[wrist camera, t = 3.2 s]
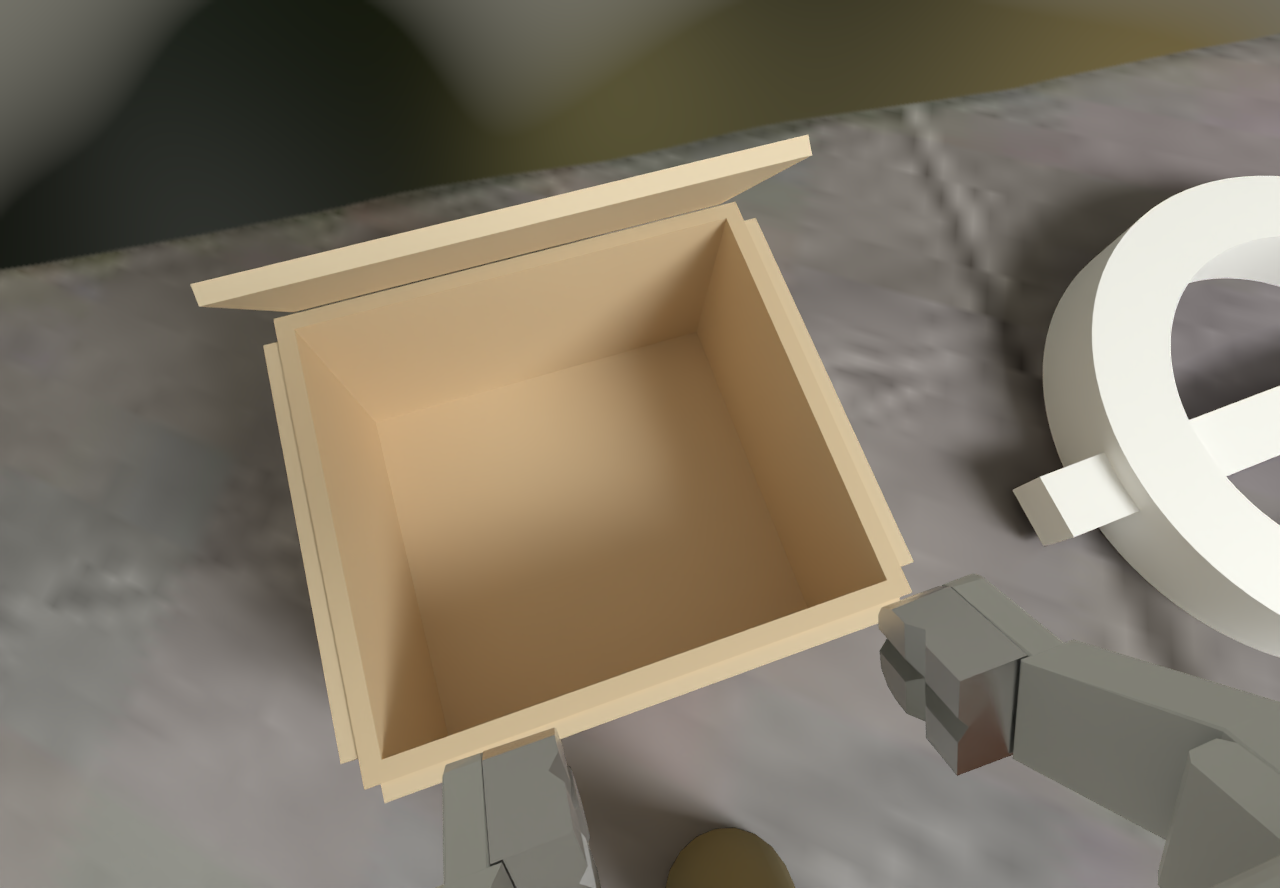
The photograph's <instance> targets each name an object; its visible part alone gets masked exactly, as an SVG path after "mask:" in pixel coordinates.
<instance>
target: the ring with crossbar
mask: <svg viewBox="0 0 1280 888" xmlns="http://www.w3.org/2000/svg"><path fill="white" fill-rule="evenodd" d="M1217 278H1235V279H1246V280H1253V281H1259V282H1264V283H1268V284H1272V285H1276V286H1279V287H1280V176H1247V177H1237V178H1229V179H1223V180H1218V181H1213V182H1209V183H1206V184H1202V185H1199V186H1196V187H1193V188H1190V189H1187V190H1185V191H1183V192H1180V193H1178V194H1176V195H1174V196H1172V197H1170V198H1168V199H1167V200H1165V201H1163V202H1161V203H1160V204H1158V205H1157V206H1155V207H1154V208H1152V209H1151V210H1150V211H1148V212H1147V213H1146V214H1145V215H1144V216H1142V217H1141V218H1140V219H1139V220H1138V221H1136V222H1135V223H1134V224H1133V225H1132V226H1131V227H1130V228H1128V229H1127V230H1126V231H1125V232H1124V233H1123V234H1121V235H1120V236H1119V237H1118V238H1117V239H1116V240H1115V241H1113V242H1112V243H1111V244H1110V245H1109V246H1108V247H1106V248H1105V249H1104V250H1103V251H1102V252H1101V253H1099V254H1098V255H1097V256H1096V257H1095V258H1094V259H1093V260H1091V261H1090V262H1089V263H1088V264H1087V265H1086V266H1085V267H1084V268H1083V269H1082V270H1081V271H1080V272H1079V273H1078V275H1077V276H1076V277H1075V278H1074V279H1073V281H1072V282H1071V283H1070V285H1069V286H1068V288H1067V289H1066V291H1065V292H1064V294H1063V296H1062V298H1061V299H1060V301H1059V303H1058V305H1057V308H1056V310H1055V312H1054V314H1053V317H1052V320H1051V323H1050V326H1049V330H1048V334H1047V337H1046V343H1045V349H1044V358H1043V392H1044V401H1045V408H1046V413H1047V418H1048V423H1049V427H1050V430H1051V434H1052V437H1053V441H1054V444H1055V447H1056V449H1057V452H1058V455H1059V458H1060V460H1061V463H1062V465H1063V467H1064V468H1062V469H1059V470H1056V471H1054V472H1051V473H1049V474H1046V475H1043V476H1041V477H1038V478H1036V479H1034V480H1032V481H1030V482H1028V483H1026V484H1024V485H1021V486H1019V487H1017V488H1015V489H1013V492H1014V494H1015V496H1016V498H1017V499H1018V501H1019V503H1020V505H1021V507H1022V508H1023V510H1024V512H1025V514H1026V516H1027V517H1028V519H1029V521H1030V523H1031V525H1032V526H1033V528H1034V530H1035V532H1036V534H1037V535H1038V537H1039V539H1040V541H1041V543H1042V544H1043V546H1047V545H1050V544H1054V543H1057V542H1060V541H1063V540H1066V539H1070V538H1073V537H1076V536H1078V535H1081V534H1083V533H1086V532H1088V531H1091V530H1093V529H1096V528H1098V527H1099V529H1100V530H1101V531H1102V533H1103V534H1104V535H1105V537H1106V538H1107V539H1108V540H1109V542H1110V543H1111V544H1112V545H1113V546H1114V547H1115V549H1116V550H1117V551H1118V552H1119V553H1120V554H1121V555H1122V557H1123V558H1124V559H1125V560H1126V561H1127V562H1128V563H1129V564H1130V565H1131V566H1132V567H1133V568H1134V569H1135V570H1136V571H1137V572H1138V573H1139V574H1140V575H1141V576H1142V577H1143V578H1144V579H1145V580H1146V581H1148V582H1149V583H1150V584H1151V585H1152V586H1153V587H1155V588H1156V589H1157V590H1158V591H1159V592H1160V593H1162V594H1163V595H1164V596H1165V597H1167V598H1168V599H1169V600H1171V601H1172V602H1173V603H1175V604H1176V605H1177V606H1179V607H1180V608H1181V609H1183V610H1184V611H1186V612H1187V613H1189V614H1190V615H1192V616H1193V617H1195V618H1196V619H1198V620H1200V621H1201V622H1203V623H1204V624H1206V625H1208V626H1209V627H1211V628H1213V629H1215V630H1217V631H1218V632H1220V633H1222V634H1224V635H1226V636H1228V637H1230V638H1232V639H1234V640H1236V641H1238V642H1241V643H1243V644H1245V645H1247V646H1250V647H1252V648H1255V649H1257V650H1260V651H1262V652H1265V653H1268V654H1271V655H1274V656H1277V657H1280V525H1278V524H1277V523H1275V522H1274V521H1273V520H1271V519H1270V518H1269V517H1268V516H1266V515H1265V514H1264V513H1263V512H1261V511H1260V510H1259V509H1258V508H1257V507H1256V506H1254V505H1253V504H1252V503H1251V502H1250V501H1249V500H1248V499H1247V498H1246V497H1245V496H1244V495H1243V494H1242V493H1241V492H1240V491H1239V490H1238V489H1237V488H1236V487H1235V486H1234V485H1233V484H1232V483H1231V482H1230V481H1229V480H1228V478H1227V477H1226V476H1228V475H1231V474H1233V473H1236V472H1238V471H1241V470H1243V469H1246V468H1248V467H1251V466H1253V465H1256V464H1258V463H1261V462H1263V461H1266V460H1268V459H1271V458H1273V457H1276V456H1278V455H1280V386H1278V387H1275V388H1272V389H1270V390H1267V391H1264V392H1262V393H1259V394H1256V395H1254V396H1251V397H1249V398H1246V399H1243V400H1241V401H1238V402H1235V403H1233V404H1230V405H1228V406H1225V407H1222V408H1220V409H1217V410H1214V411H1212V412H1209V413H1206V414H1204V415H1201V416H1199V417H1196V418H1193V419H1191V420H1189V419H1188V417H1187V415H1186V413H1185V410H1184V408H1183V405H1182V403H1181V400H1180V397H1179V394H1178V391H1177V387H1176V384H1175V379H1174V374H1173V369H1172V362H1171V330H1172V323H1173V318H1174V314H1175V311H1176V307H1177V305H1178V302H1179V300H1180V297H1181V295H1182V293H1183V291H1184V289H1185V288H1186V286H1187V285H1188V283H1191V282H1195V281H1200V280H1206V279H1217Z"/></svg>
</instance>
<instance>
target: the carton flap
mask: <svg viewBox="0 0 1280 888" xmlns="http://www.w3.org/2000/svg"><path fill="white" fill-rule="evenodd" d="M811 155H812V152H811V147H810V141H809V136H808V135H804V136H800V137H796V138H792V139H788V140H784V141H780V142H776V143H771V144H767V145H763V146H759V147H755V148H751V149H747V150H743V151H738V152H734V153H730V154H726V155H722V156H718V157H714V158H710V159H705V160H701V161H697V162H693V163H689V164H685V165H681V166H677V167H672V168H668V169H664V170H660V171H656V172H652V173H648V174H643V175H639V176H635V177H631V178H627V179H623V180H619V181H615V182H610V183H606V184H602V185H598V186H594V187H590V188H586V189H582V190H577V191H573V192H569V193H565V194H561V195H557V196H553V197H549V198H544V199H540V200H536V201H532V202H528V203H524V204H520V205H516V206H511V207H507V208H503V209H499V210H495V211H491V212H487V213H482V214H478V215H474V216H470V217H466V218H462V219H458V220H454V221H449V222H445V223H441V224H437V225H433V226H429V227H425V228H421V229H416V230H412V231H408V232H404V233H400V234H396V235H392V236H388V237H383V238H379V239H375V240H371V241H367V242H363V243H359V244H355V245H350V246H346V247H342V248H338V249H334V250H330V251H326V252H322V253H317V254H313V255H309V256H305V257H301V258H297V259H293V260H288V261H284V262H280V263H276V264H272V265H268V266H264V267H260V268H255V269H251V270H247V271H243V272H239V273H235V274H231V275H227V276H222V277H218V278H214V279H210V280H206V281H202V282H198V283H194V284H190V285H191V287H192V290H193V292H194V295H195V297H196V300H197V302H198V305H199V307H214V308H231V309H248V310H264V311H281V312H297V311H301V310H305V309H309V308H313V307H317V306H320V305H324V304H328V303H332V302H336V301H340V300H344V299H348V298H352V297H356V296H360V295H364V294H368V293H372V292H376V291H380V290H384V289H388V288H391V287H395V286H399V285H403V284H407V283H411V282H415V281H419V280H423V279H427V278H431V277H435V276H439V275H443V274H447V273H451V272H455V271H459V270H462V269H466V268H470V267H474V266H478V265H482V264H486V263H490V262H494V261H498V260H502V259H506V258H510V257H514V256H518V255H522V254H526V253H530V252H533V251H537V250H541V249H545V248H549V247H553V246H557V245H561V244H565V243H569V242H573V241H577V240H581V239H585V238H589V237H593V236H597V235H601V234H604V233H608V232H612V231H616V230H620V229H624V228H628V227H632V226H636V225H640V224H644V223H648V222H652V221H656V220H660V219H664V218H668V217H672V216H675V215H679V214H683V213H687V212H691V211H695V210H699V209H703V208H707V207H711V206H715V205H719V204H721V203H723V202H725V201H727V200H729V199H730V198H732V197H734V196H736V195H738V194H740V193H742V192H744V191H745V190H747V189H749V188H751V187H753V186H755V185H757V184H759V183H760V182H762V181H764V180H766V179H768V178H770V177H772V176H774V175H776V174H777V173H779V172H781V171H783V170H785V169H787V168H789V167H791V166H792V165H794V164H796V163H798V162H800V161H802V160H804V159H806V158H807V157H809V156H811Z"/></svg>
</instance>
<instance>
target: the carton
mask: <svg viewBox="0 0 1280 888" xmlns="http://www.w3.org/2000/svg"><path fill="white" fill-rule="evenodd" d="M273 320H274V325H275V330H276V335H277V340H278V342H275V343H271V344H267V345H263V348H264V353H265V358H266V364H267V369H268V374H269V380H270V385H271V391H272V396H273V401H274V407H275V412H276V418H277V423H278V428H279V434H280V439H281V445H282V450H283V455H284V461H285V466H286V471H287V477H288V482H289V488H290V493H291V498H292V504H293V509H294V515H295V520H296V525H297V531H298V536H299V542H300V547H301V552H302V558H303V563H304V568H305V574H306V579H307V585H308V590H309V595H310V601H311V606H312V612H313V617H314V622H315V628H316V633H317V639H318V644H319V649H320V655H321V660H322V666H323V671H324V676H325V682H326V687H327V692H328V698H329V703H330V709H331V714H332V719H333V725H334V730H335V736H336V741H337V746H338V752H339V757H340V763H341V764H343V763H346V762H349V761H353V760H356V759H358V760H359V765H360V770H361V775H362V780H363V785H364V790H365V789H368V788H371V787H374V786H377V785H379V784H381V787H382V792H383V797H384V802H385V803H387V802H390V801H392V800H395V799H398V798H400V797H403V796H406V795H409V794H411V793H414V792H417V791H420V790H422V789H425V788H428V787H431V786H433V785H436V784H439V783H442V776H443V773H444V769H445V765H446V764H449V763H452V762H455V761H458V760H461V759H464V758H467V757H470V756H473V755H476V754H479V753H482V752H483V751H486V750H489V749H492V748H495V747H498V746H501V745H504V744H507V743H510V742H513V741H516V740H519V739H522V738H525V737H528V736H531V735H533V734H536V733H539V732H542V731H545V730H548V729H551V728H556V730H557V732H558V735H559V738H560V739H562V738H565V737H568V736H570V735H573V734H576V733H579V732H581V731H584V730H587V729H590V728H592V727H595V726H598V725H601V724H603V723H606V722H609V721H612V720H614V719H617V718H620V717H623V716H625V715H628V714H631V713H633V712H636V711H639V710H642V709H644V708H647V707H650V706H653V705H655V704H658V703H661V702H664V701H666V700H669V699H672V698H675V697H677V696H680V695H683V694H686V693H688V692H691V691H694V690H697V689H699V688H702V687H705V686H707V685H710V684H713V683H716V682H718V681H721V680H724V679H727V678H729V677H732V676H735V675H738V674H740V673H743V672H746V671H749V670H751V669H754V668H757V667H760V666H762V665H765V664H768V663H771V662H773V661H776V660H779V659H782V658H784V657H787V656H790V655H792V654H795V653H798V652H801V651H803V650H806V649H809V648H812V647H814V646H817V645H820V644H823V643H825V642H828V641H831V640H834V639H836V638H839V637H842V636H845V635H847V634H850V633H853V632H856V631H858V630H861V629H864V628H866V627H869V626H872V625H875V624H877V623H878V615H879V612H880V610H881V608H882V607H884V606H887V605H890V604H892V603H895V602H898V601H900V598H899V597H901V596H904V595H907V594H909V593H912V591H911V589H910V586H909V584H908V582H907V580H906V578H905V575H904V573H903V571H902V569H901V567H902V566H904V565H907V564H910V563H912V562H914V561H913V559H912V557H911V555H910V553H909V551H908V548H907V546H906V544H905V542H904V540H903V538H902V535H901V533H900V531H899V529H898V527H897V524H896V522H895V520H894V518H893V516H892V514H891V511H890V509H889V507H888V505H887V503H886V501H885V498H884V496H883V494H882V492H881V490H880V487H879V485H878V483H877V481H876V479H875V477H874V474H873V472H872V470H871V468H870V466H869V464H868V461H867V459H866V457H865V455H864V453H863V451H862V448H861V446H860V444H859V442H858V440H857V437H856V435H855V433H854V431H853V429H852V427H851V424H850V422H849V420H848V418H847V416H846V414H845V411H844V409H843V407H842V405H841V403H840V400H839V398H838V396H837V394H836V392H835V390H834V387H833V385H832V383H831V381H830V379H829V377H828V374H827V372H826V370H825V368H824V366H823V363H822V361H821V359H820V357H819V355H818V353H817V350H816V348H815V346H814V344H813V342H812V340H811V337H810V335H809V333H808V331H807V329H806V326H805V324H804V322H803V320H802V318H801V316H800V313H799V311H798V309H797V307H796V305H795V303H794V300H793V298H792V296H791V294H790V292H789V289H788V287H787V285H786V283H785V281H784V279H783V276H782V274H781V272H780V270H779V268H778V266H777V263H776V261H775V259H774V257H773V255H772V253H771V250H770V248H769V246H768V244H767V242H766V239H765V237H764V235H763V233H762V231H761V229H760V226H759V224H758V222H757V220H756V218H754V219H750V220H746V221H744V220H743V217H742V215H741V213H740V211H739V209H738V206H737V204H736V202H732V203H728V204H724V205H720V206H717V207H713V208H709V209H705V210H701V211H697V212H693V213H689V214H685V215H681V216H677V217H673V218H669V219H665V220H661V221H657V222H654V223H650V224H646V225H642V226H638V227H634V228H630V229H626V230H622V231H618V232H614V233H610V234H606V235H602V236H598V237H594V238H590V239H587V240H583V241H579V242H575V243H571V244H567V245H563V246H559V247H555V248H551V249H547V250H543V251H539V252H535V253H531V254H527V255H524V256H520V257H516V258H512V259H508V260H504V261H500V262H496V263H492V264H488V265H484V266H480V267H476V268H472V269H468V270H464V271H460V272H457V273H453V274H449V275H445V276H441V277H437V278H433V279H429V280H425V281H421V282H417V283H413V284H409V285H405V286H401V287H397V288H394V289H390V290H386V291H382V292H378V293H374V294H370V295H366V296H362V297H358V298H354V299H350V300H346V301H342V302H338V303H334V304H330V305H327V306H323V307H319V308H315V309H311V310H307V311H303V312H299V313H295V314H291V315H287V316H283V317H279V318H275V319H273Z"/></svg>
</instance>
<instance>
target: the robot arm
mask: <svg viewBox="0 0 1280 888" xmlns="http://www.w3.org/2000/svg"><path fill="white" fill-rule="evenodd" d="M878 625H879V630H880V631H881V632H882V633H883V634H884V635H885V636H886V638H887V639H886V641H885V643H884V645H883V646H882V648H881V650H880V661H881V669H882V672H883V675H884V677H885V680H886V683H887V686H888V687H889V689H890V691H891V693H892V694H893V696H894V698H895V699H896V701H897V702H898V703H899V705H900V706H901V707H902V708H903V710H904V711H905V712H906V713H907V714H909V715H911V716H914V717H916V718H918V719H921V720H923V721H925V722H926V738H927V740H928V741H929V742H930V743H931V745H932V746H933V747H934V748H935V749H936V751H937V752H938V753H939V754H940V756H941V757H942V758H943V759H944V760H945V762H946V763H947V764H948V765H949V767H950V768H951V769H952V770H953V772H954V773H955V774H956V775H957V776H958V775H961V774H963V773H966V772H969V771H971V770H974V769H977V768H979V767H982V766H985V765H987V764H990V763H993V762H995V761H998V760H1001V759H1003V758H1006V757H1009V756H1011V755H1013V759H1014V760H1016V761H1018V762H1020V763H1022V764H1024V765H1026V766H1028V767H1030V768H1031V769H1033V770H1035V771H1037V772H1039V773H1041V774H1043V775H1045V776H1047V777H1048V778H1050V779H1052V780H1054V781H1056V782H1058V783H1060V784H1062V785H1063V786H1065V787H1067V788H1069V789H1071V790H1073V791H1075V792H1077V793H1079V794H1080V795H1082V796H1084V797H1086V798H1088V799H1090V800H1092V801H1094V802H1096V803H1097V804H1099V805H1101V806H1103V807H1105V808H1107V809H1109V810H1111V811H1112V812H1114V813H1116V814H1118V815H1120V816H1122V817H1124V818H1126V819H1128V820H1129V821H1131V822H1133V823H1135V824H1137V825H1139V826H1141V827H1143V828H1145V829H1146V830H1148V831H1150V832H1152V833H1154V834H1156V835H1158V836H1160V837H1161V838H1163V839H1165V840H1166V842H1165V846H1164V850H1163V854H1162V858H1161V862H1160V866H1159V870H1158V885H1159V887H1160V888H1280V702H1278V701H1275V700H1271V699H1268V698H1265V697H1261V696H1258V695H1255V694H1251V693H1248V692H1245V691H1241V690H1238V689H1235V688H1232V687H1228V686H1225V685H1222V684H1218V683H1215V682H1212V681H1208V680H1205V679H1202V678H1199V677H1195V676H1192V675H1189V674H1185V673H1182V672H1179V671H1175V670H1172V669H1169V668H1166V667H1162V666H1159V665H1156V664H1152V663H1149V662H1146V661H1142V660H1139V659H1136V658H1133V657H1129V656H1126V655H1123V654H1119V653H1116V652H1113V651H1109V650H1106V649H1103V648H1099V647H1096V646H1093V645H1090V644H1086V643H1083V642H1080V641H1076V640H1071V641H1068V642H1065V643H1064V642H1062V641H1061V640H1060V639H1059V638H1057V637H1056V636H1055V635H1054V634H1052V633H1051V632H1050V631H1049V630H1048V629H1046V628H1045V627H1044V626H1043V625H1041V624H1040V623H1039V622H1038V621H1036V620H1035V619H1034V618H1033V617H1032V616H1030V615H1029V614H1028V613H1027V612H1025V611H1024V610H1023V609H1022V608H1020V607H1019V606H1018V605H1017V604H1015V603H1014V602H1013V601H1012V600H1011V599H1009V598H1008V597H1007V596H1006V595H1004V594H1003V593H1002V592H1001V591H999V590H998V589H997V588H996V587H994V586H993V585H992V584H991V583H990V582H988V581H987V580H986V579H985V578H983V577H982V576H979V575H976V574H970V575H968V576H965V577H962V578H960V579H957V580H954V581H951V582H949V583H946V584H943V585H942V586H937V587H935V588H932V589H929V590H927V591H924V592H921V593H919V594H916V595H913V596H911V597H908V598H906V599H903V600H900V601H898V602H895V603H892V604H890V605H887V606H884V607H882V608H881V610H880V612H879V615H878ZM442 786H443V869H444V885H441V886H439V887H436V888H601V884H600V880H599V875H598V870H597V867H596V864H595V861H594V859H593V856H592V853H591V850H590V848H589V845H588V842H589V839H590V834H589V830H588V825H587V821H586V817H585V813H584V809H583V805H582V802H581V798H580V794H579V791H578V788H577V785H576V781H575V778H574V775H573V773H572V770H571V767H570V766H568V765H567V763H566V759H565V754H564V750H563V745H562V743H561V740H560V738H559V735H558V732H557V730H556V728H551V729H548V730H545V731H542V732H539V733H536V734H533V735H531V736H528V737H525V738H522V739H519V740H516V741H513V742H510V743H507V744H504V745H501V746H498V747H495V748H492V749H489V750H486V751H483V752H482V753H479V754H476V755H473V756H470V757H467V758H464V759H461V760H458V761H455V762H452V763H449V764H446V765H445V769H444V773H443V776H442Z"/></svg>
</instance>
